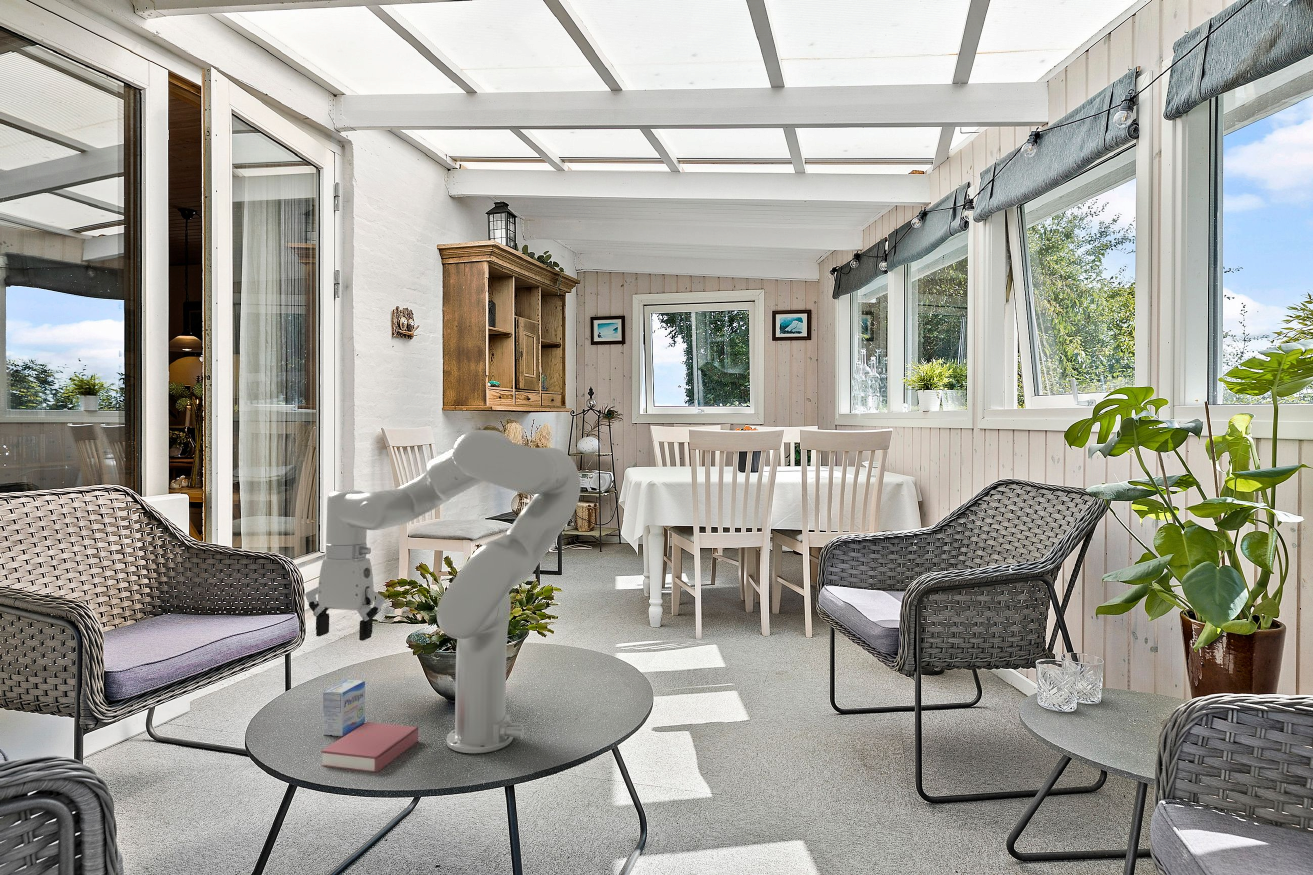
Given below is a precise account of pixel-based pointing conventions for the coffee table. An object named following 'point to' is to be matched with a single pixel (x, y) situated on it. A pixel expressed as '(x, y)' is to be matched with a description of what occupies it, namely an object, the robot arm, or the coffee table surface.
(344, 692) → the medicine box
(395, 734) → the book
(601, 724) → the coffee table surface
